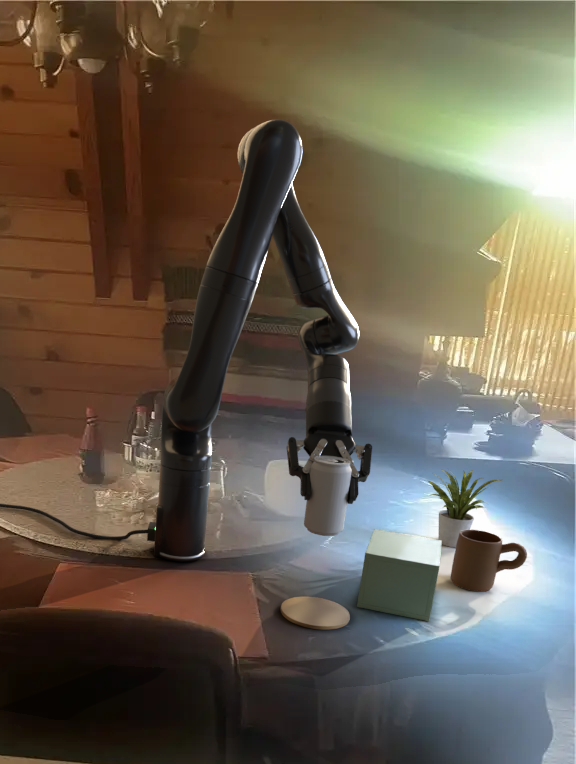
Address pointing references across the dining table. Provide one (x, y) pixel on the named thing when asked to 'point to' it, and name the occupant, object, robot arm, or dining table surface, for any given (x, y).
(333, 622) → the coaster
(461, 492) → the house plant
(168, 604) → the dining table surface
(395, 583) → the cabinet
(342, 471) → the beverage can
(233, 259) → the robot arm
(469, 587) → the mug
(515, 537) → the dining table surface
